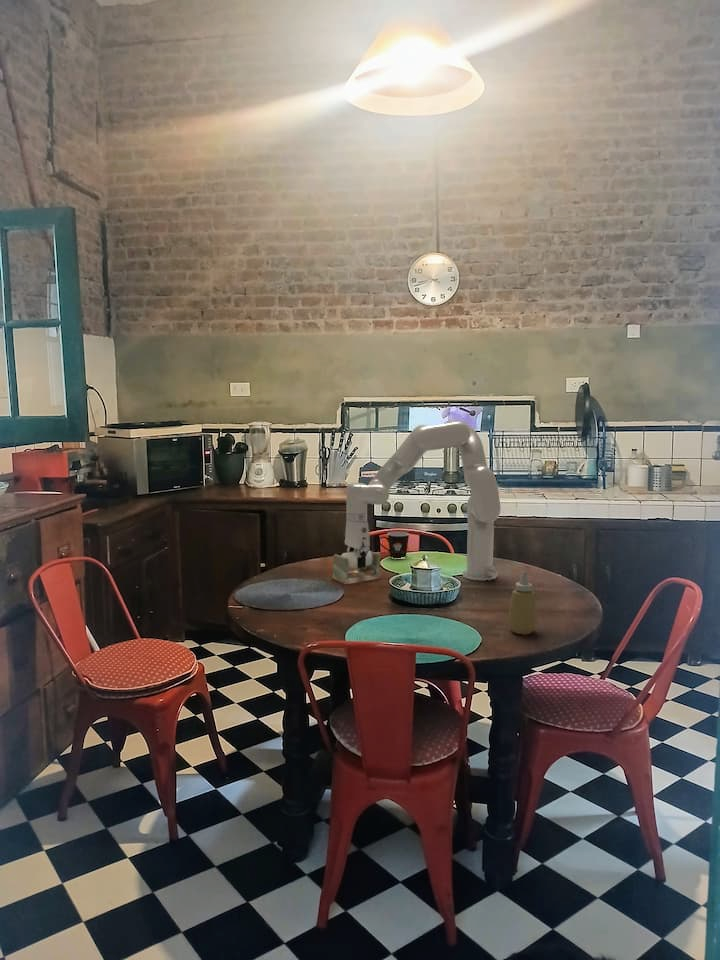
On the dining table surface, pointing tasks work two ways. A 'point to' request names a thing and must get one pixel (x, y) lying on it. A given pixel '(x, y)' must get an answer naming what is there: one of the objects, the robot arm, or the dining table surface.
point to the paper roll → (356, 559)
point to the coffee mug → (397, 544)
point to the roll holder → (355, 576)
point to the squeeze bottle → (523, 607)
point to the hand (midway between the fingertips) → (356, 565)
